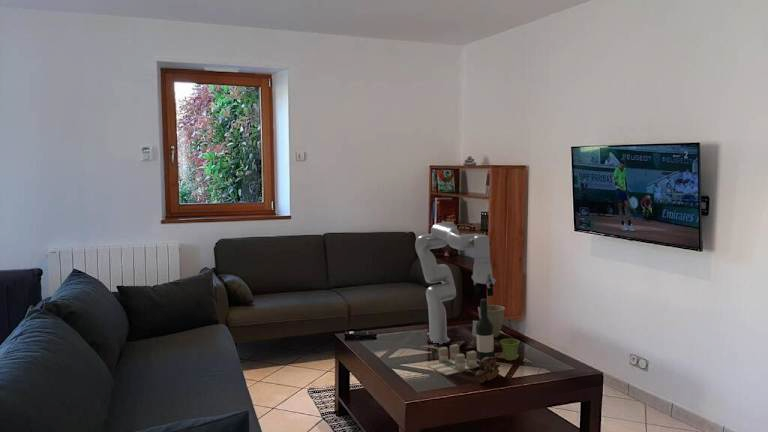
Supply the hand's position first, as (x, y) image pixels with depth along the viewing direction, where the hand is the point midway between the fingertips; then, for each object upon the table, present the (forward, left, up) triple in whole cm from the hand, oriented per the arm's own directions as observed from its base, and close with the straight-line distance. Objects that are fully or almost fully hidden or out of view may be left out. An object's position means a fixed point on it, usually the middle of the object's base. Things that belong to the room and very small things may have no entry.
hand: (483, 294), depth 287 cm
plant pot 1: (-28, +28, -33) cm, 52 cm away
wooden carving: (+24, -18, -33) cm, 44 cm away
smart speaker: (-18, +12, -33) cm, 39 cm away
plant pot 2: (+8, +9, -33) cm, 35 cm away
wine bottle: (0, 0, -33) cm, 33 cm away
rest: (0, -20, -32) cm, 38 cm away
